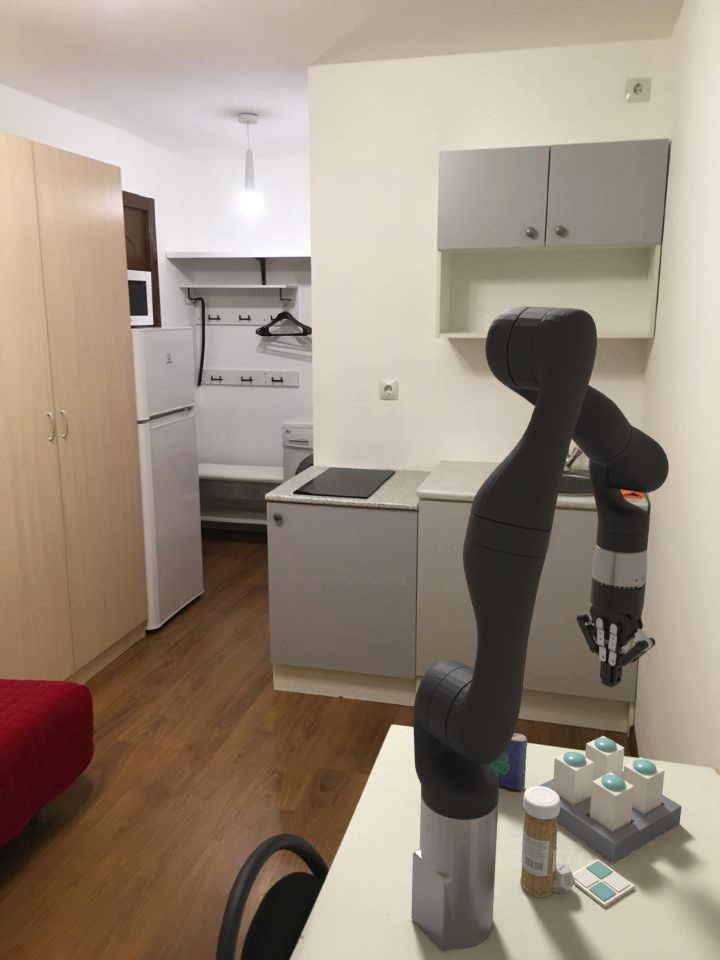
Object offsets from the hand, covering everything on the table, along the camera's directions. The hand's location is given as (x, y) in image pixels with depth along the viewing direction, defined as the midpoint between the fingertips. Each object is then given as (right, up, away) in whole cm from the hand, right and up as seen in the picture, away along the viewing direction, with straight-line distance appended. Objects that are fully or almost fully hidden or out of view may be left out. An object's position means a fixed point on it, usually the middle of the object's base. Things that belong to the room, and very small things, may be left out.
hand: (610, 684), depth 115 cm
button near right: (-2, -18, -6) cm, 19 cm away
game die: (-12, -23, -15) cm, 30 cm away
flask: (-16, -18, +7) cm, 25 cm away
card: (-6, -22, -15) cm, 27 cm away
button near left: (-6, -17, 0) cm, 18 cm away
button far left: (0, -16, +4) cm, 16 cm away
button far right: (+4, -17, -2) cm, 18 cm away
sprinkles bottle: (-15, -23, -15) cm, 31 cm away
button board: (-1, -19, -1) cm, 19 cm away
